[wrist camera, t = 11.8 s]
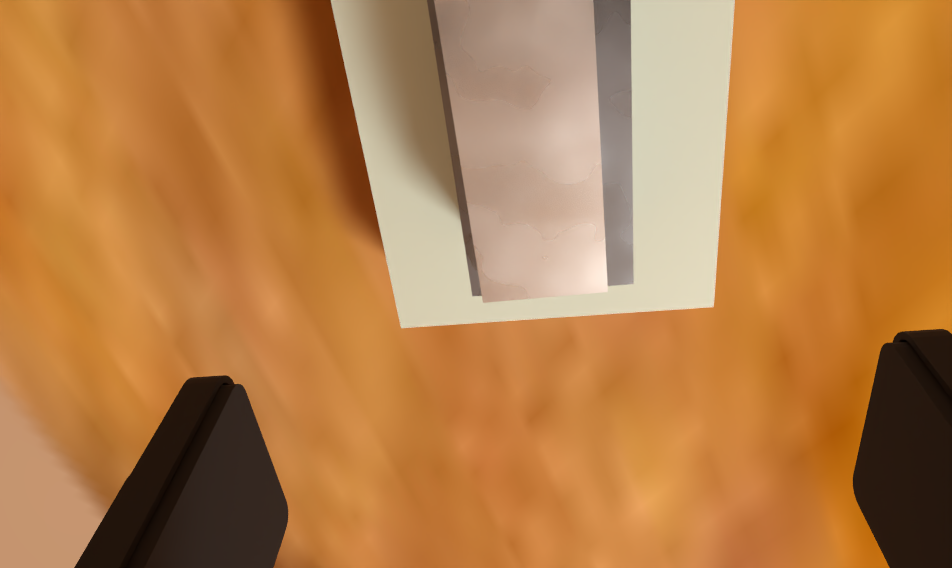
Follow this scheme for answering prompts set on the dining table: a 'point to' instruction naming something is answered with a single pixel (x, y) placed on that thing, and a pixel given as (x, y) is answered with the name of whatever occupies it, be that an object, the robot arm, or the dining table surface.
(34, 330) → the dining table surface
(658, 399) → the dining table surface
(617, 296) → the stand
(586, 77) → the cover
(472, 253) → the housing base
